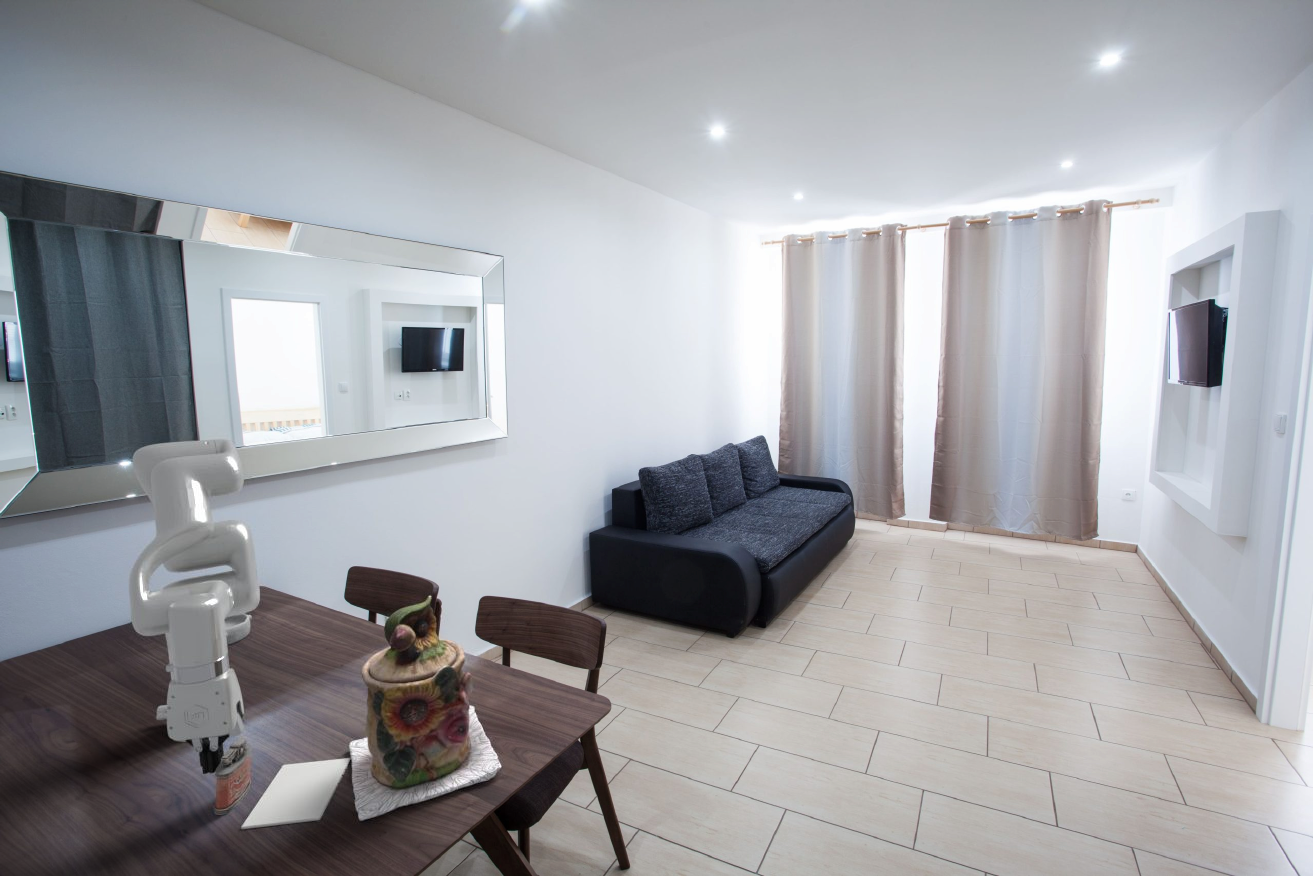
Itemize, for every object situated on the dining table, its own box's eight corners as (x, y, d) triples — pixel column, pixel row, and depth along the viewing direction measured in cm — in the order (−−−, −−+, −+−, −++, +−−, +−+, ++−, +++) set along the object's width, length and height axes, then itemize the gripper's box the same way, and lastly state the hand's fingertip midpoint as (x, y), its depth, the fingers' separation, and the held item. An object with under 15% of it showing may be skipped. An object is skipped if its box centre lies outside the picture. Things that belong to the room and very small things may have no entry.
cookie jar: (347, 749, 123) (334, 593, 119) (473, 713, 135) (465, 570, 131) (357, 829, 102) (342, 643, 98) (505, 778, 114) (498, 610, 110)
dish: (230, 650, 167) (228, 632, 166) (179, 650, 167) (177, 632, 167) (264, 626, 181) (263, 610, 181) (217, 627, 182) (215, 610, 181)
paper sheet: (241, 829, 102) (241, 827, 102) (283, 767, 118) (283, 765, 118) (319, 820, 104) (319, 817, 104) (350, 759, 120) (350, 757, 120)
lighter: (236, 782, 113) (238, 731, 112) (255, 783, 113) (257, 732, 112) (208, 814, 105) (210, 759, 104) (229, 815, 105) (231, 760, 104)
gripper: (138, 683, 101) (151, 788, 103) (238, 675, 103) (249, 778, 105) (167, 661, 108) (179, 759, 111) (260, 654, 110) (269, 751, 113)
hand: (213, 768), depth 108 cm, fingers closed
